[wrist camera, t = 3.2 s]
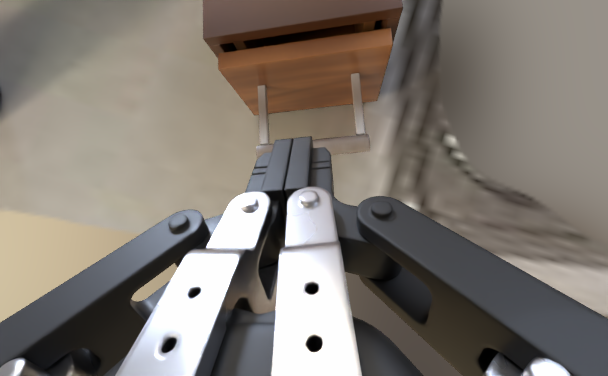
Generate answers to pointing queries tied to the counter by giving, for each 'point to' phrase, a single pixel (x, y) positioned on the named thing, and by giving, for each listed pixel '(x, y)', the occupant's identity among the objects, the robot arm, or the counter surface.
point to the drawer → (311, 76)
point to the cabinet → (289, 18)
